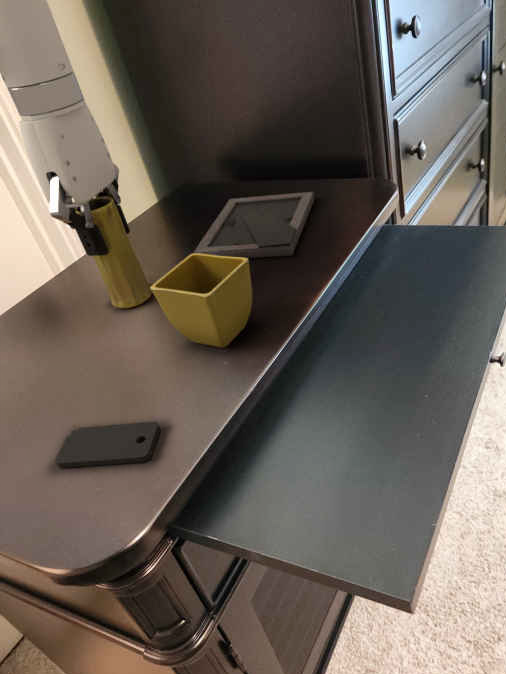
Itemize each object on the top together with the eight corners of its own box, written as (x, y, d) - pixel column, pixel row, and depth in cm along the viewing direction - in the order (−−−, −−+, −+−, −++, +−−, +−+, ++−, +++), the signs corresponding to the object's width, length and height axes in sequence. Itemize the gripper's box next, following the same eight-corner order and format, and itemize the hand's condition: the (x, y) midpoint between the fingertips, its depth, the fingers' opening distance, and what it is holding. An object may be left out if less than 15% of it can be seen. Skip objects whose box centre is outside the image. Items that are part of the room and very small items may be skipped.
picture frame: (292, 255, 80) (314, 200, 95) (290, 243, 79) (312, 189, 94) (196, 261, 84) (231, 207, 99) (192, 249, 83) (229, 196, 98)
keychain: (71, 428, 56) (159, 421, 55) (74, 433, 57) (161, 425, 55) (52, 463, 53) (146, 456, 51) (56, 468, 53) (149, 461, 52)
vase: (160, 290, 78) (125, 196, 69) (131, 312, 75) (90, 216, 65) (132, 284, 81) (95, 193, 72) (103, 305, 78) (60, 211, 68)
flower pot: (172, 349, 66) (147, 286, 60) (211, 312, 72) (191, 251, 66) (228, 361, 62) (208, 296, 56) (265, 321, 68) (250, 257, 62)
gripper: (61, 82, 67) (115, 218, 79) (-27, 123, 55) (52, 275, 67) (112, 75, 65) (159, 216, 77) (31, 116, 53) (102, 274, 65)
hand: (109, 242), depth 72 cm, fingers closed on vase, 5 cm apart
